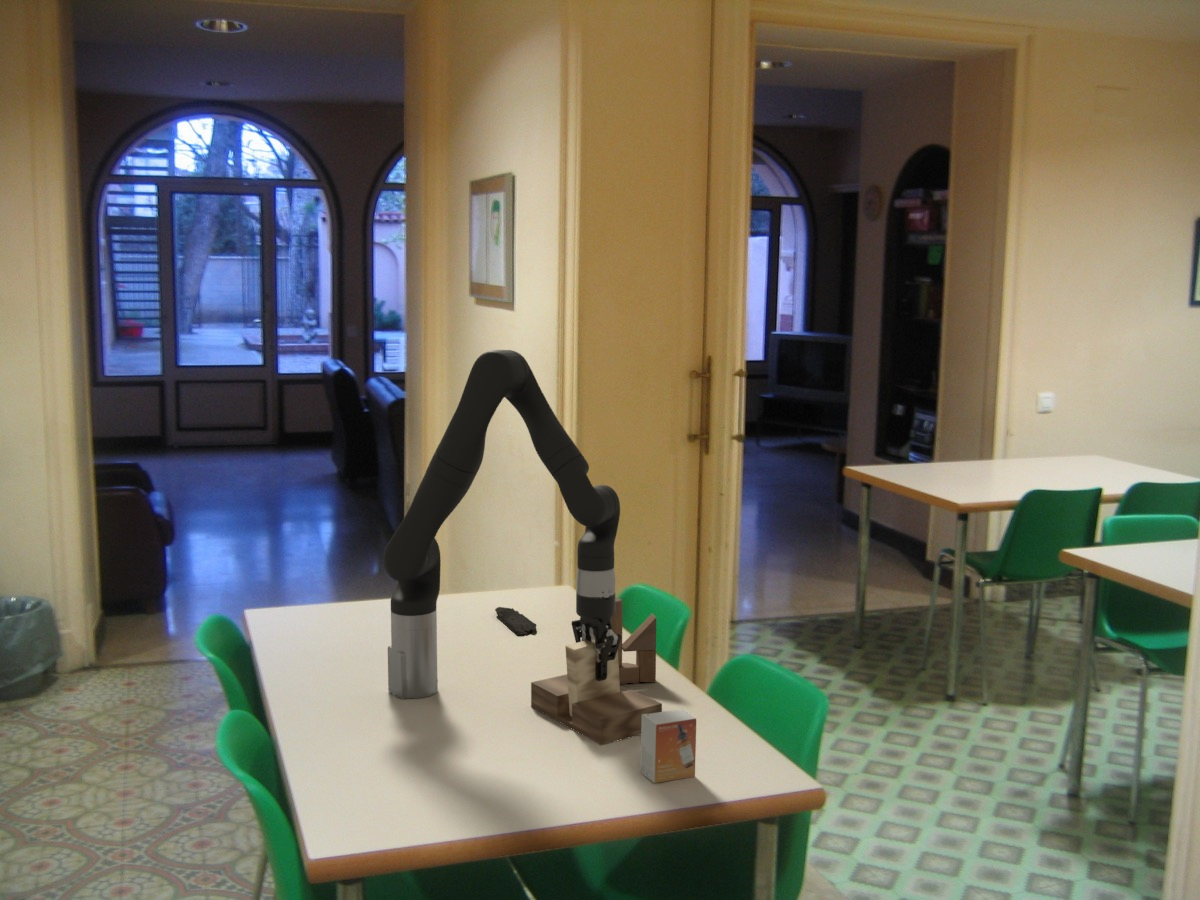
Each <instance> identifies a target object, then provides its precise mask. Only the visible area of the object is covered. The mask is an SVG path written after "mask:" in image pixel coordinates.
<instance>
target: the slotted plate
mask: <svg viewBox="0 0 1200 900" xmlns="http://www.w3.org/2000/svg"><path fill="white" fill-rule="evenodd" d="M530 707H531V708H533V709H534V710H537V711H538V710H539V712H540V711H541V712H540V713H542V712H543V714H544V715H546V716H547V715H548V717H549V716H550V717H549V718H550V719H552V720H555V719H556V720H557V722H558V721H559V722H558V723H560V722H561V723H560V724H562V723H563V724H562V725H563V726H565V725H566V727H567V726H568V727H567V728H568V729H571V728H572V729H571V730H573V729H574V730H575V731H574V730H573V731H574V732H576V731H577V732H576V733H578V732H579V733H578V734H580V735H582V734H583V735H584V737H585V736H586V737H585V738H587V737H588V738H587V739H589V740H591V741H593V742H594V743H596V744H598V745H599V746H603V744H604V745H607V744H611V743H615V742H618V741H617V740H619V741H621V740H620V739H622V740H626V739H629V738H628V737H630V738H633V737H632V736H634V737H636V736H635V735H637V736H639V735H638V734H641V721H642V714H651V713H658V712H663V709H662V708H663V703H662V702H660V701H657V700H655V699H653V698H651V697H649V696H647V695H644V694H642V693H640V692H638V691H636V690H635V689H627V690H623V691H620V692H619V693H614V694H610V695H606V696H602V697H598V698H594V699H589V700H585V701H581V702H577V703H573V704H572V716H570V712H569V696H568V679H567V673H566V674H562V675H557V676H553V677H550V678H545V679H540V680H536V681H531V682H530ZM556 720H555V721H556ZM583 735H582V736H583ZM625 738H626V739H625ZM614 741H615V742H614ZM610 742H611V743H610Z"/></svg>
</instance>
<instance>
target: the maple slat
mask: <svg viewBox="0 0 1200 900" xmlns="http://www.w3.org/2000/svg"><path fill="white" fill-rule="evenodd" d="M604 644H605V643H601V644H598V646H599V645H604ZM600 653H601V655H602V653H603V650H601V651H600ZM609 654H610V653H609ZM565 661H566V674H567V679H568V696H569V712H570V716H572V704H573V703H577V702H581V701H585V700H589V699H594V698H598V697H602V696H606V695H610V694H614V693H619V692H621V686H620V685H621V684H620V682H619V662H618V650H617V653H616V657H615V659H614V660H610V661H608V662H607V678H606V680H602V681H597V680H596V658H595V650H593V644H592V641H589V640H587V641H581V642H578V643H576V642H575V643H571V644H568V645H565Z"/></svg>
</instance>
